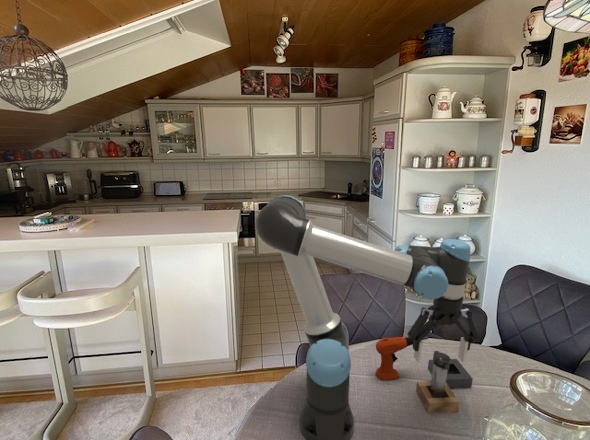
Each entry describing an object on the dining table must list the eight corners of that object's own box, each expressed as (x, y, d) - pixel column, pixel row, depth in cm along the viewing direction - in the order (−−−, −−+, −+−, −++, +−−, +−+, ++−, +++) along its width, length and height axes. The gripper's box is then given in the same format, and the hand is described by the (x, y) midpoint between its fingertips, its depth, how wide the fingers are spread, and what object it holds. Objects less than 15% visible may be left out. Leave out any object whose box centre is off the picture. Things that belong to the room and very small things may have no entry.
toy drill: (432, 372, 115) (431, 334, 111) (379, 383, 113) (376, 344, 109) (425, 363, 119) (424, 326, 116) (373, 373, 118) (371, 336, 114)
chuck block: (441, 388, 109) (442, 379, 109) (427, 368, 119) (428, 359, 118) (471, 387, 110) (472, 378, 109) (455, 367, 120) (456, 358, 119)
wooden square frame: (428, 413, 100) (429, 403, 99) (416, 391, 108) (417, 381, 108) (458, 411, 100) (459, 401, 99) (443, 390, 109) (444, 380, 108)
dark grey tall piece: (448, 408, 101) (455, 364, 97) (433, 408, 101) (439, 365, 97) (438, 390, 108) (443, 349, 104) (423, 391, 107) (429, 350, 104)
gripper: (483, 288, 100) (472, 351, 105) (401, 288, 99) (394, 352, 104) (499, 300, 93) (487, 367, 98) (410, 300, 92) (402, 368, 97)
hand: (439, 359), depth 101 cm, fingers open, 13 cm apart
